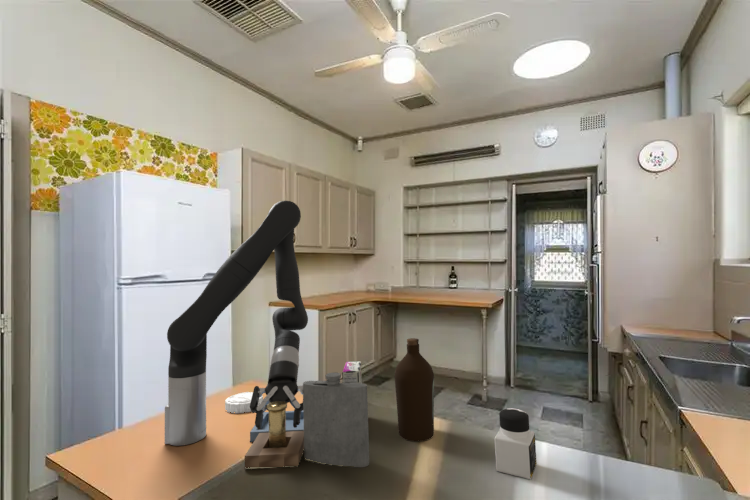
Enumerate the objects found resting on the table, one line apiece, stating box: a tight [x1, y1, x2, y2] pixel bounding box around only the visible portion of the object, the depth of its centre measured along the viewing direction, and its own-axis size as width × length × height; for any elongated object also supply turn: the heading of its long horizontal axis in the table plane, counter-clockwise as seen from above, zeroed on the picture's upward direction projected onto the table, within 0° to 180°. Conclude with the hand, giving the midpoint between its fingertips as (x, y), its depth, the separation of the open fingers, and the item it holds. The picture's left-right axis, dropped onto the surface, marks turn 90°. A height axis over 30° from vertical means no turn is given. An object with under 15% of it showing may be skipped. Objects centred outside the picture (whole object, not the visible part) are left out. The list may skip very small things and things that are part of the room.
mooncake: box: [224, 391, 264, 414], centre depth 123 cm, size 12×12×4 cm
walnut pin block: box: [244, 431, 304, 468], centre depth 88 cm, size 12×12×3 cm
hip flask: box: [302, 372, 370, 468], centre depth 85 cm, size 16×4×20 cm, turn 75°
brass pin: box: [266, 401, 288, 448], centre depth 89 cm, size 5×5×12 cm
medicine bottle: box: [494, 407, 538, 480], centre depth 80 cm, size 7×7×12 cm
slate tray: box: [249, 410, 304, 443], centre depth 103 cm, size 14×14×2 cm
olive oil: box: [394, 337, 435, 442], centre depth 99 cm, size 11×11×25 cm
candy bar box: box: [341, 360, 363, 383], centre depth 107 cm, size 11×5×16 cm, turn 179°
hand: (277, 427), depth 88 cm, fingers open, 8 cm apart
